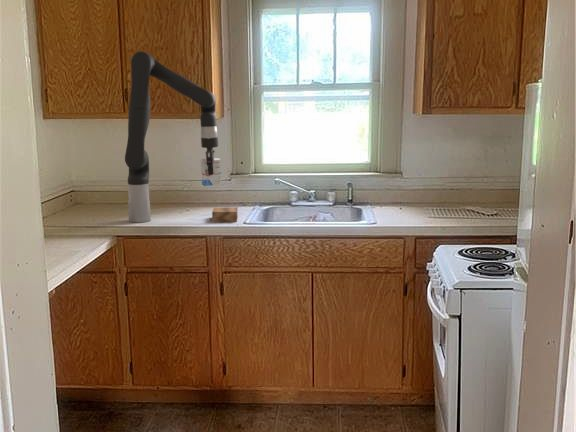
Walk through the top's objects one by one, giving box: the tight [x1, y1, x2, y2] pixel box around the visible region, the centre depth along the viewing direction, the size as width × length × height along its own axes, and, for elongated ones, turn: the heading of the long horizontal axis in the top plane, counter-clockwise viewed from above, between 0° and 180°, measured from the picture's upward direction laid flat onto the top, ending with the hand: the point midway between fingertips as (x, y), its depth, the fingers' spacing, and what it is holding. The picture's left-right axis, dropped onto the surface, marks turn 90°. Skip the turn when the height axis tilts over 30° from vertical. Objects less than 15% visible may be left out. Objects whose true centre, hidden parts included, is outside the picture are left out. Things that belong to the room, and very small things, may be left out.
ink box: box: [200, 157, 223, 187], centre depth 264 cm, size 9×5×12 cm, turn 105°
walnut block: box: [211, 206, 239, 223], centre depth 268 cm, size 11×11×5 cm
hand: (211, 173), depth 264 cm, fingers closed on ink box, 5 cm apart
